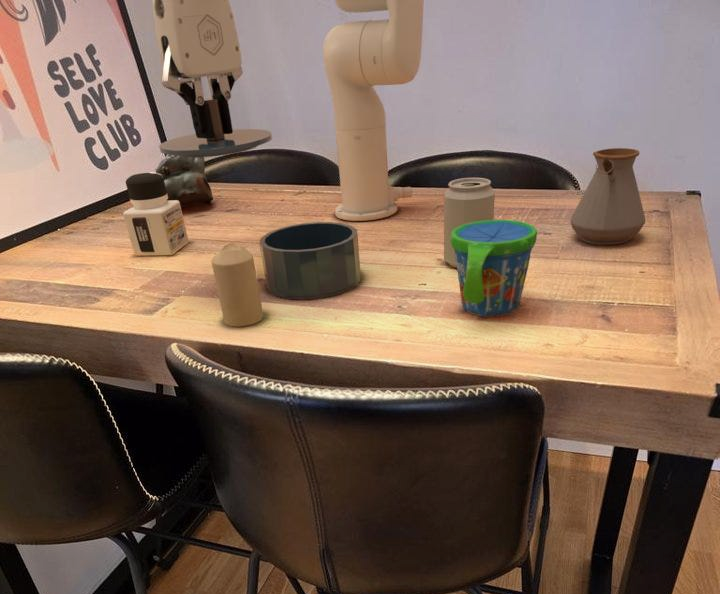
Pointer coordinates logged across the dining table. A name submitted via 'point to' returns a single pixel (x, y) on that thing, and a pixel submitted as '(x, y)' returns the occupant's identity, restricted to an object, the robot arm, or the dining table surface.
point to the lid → (216, 139)
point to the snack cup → (492, 264)
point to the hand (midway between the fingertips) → (214, 134)
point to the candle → (237, 285)
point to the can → (465, 208)
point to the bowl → (311, 260)
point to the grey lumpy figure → (185, 180)
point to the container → (153, 217)
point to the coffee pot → (610, 200)
